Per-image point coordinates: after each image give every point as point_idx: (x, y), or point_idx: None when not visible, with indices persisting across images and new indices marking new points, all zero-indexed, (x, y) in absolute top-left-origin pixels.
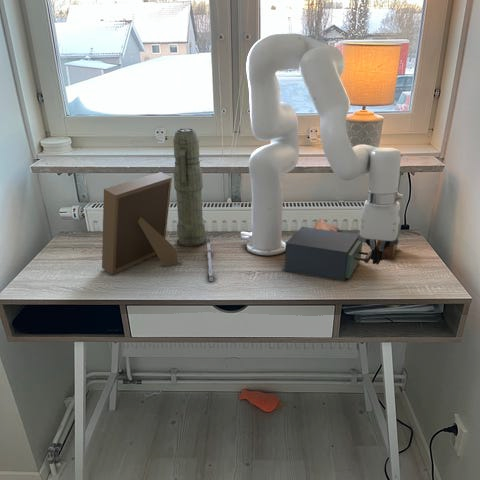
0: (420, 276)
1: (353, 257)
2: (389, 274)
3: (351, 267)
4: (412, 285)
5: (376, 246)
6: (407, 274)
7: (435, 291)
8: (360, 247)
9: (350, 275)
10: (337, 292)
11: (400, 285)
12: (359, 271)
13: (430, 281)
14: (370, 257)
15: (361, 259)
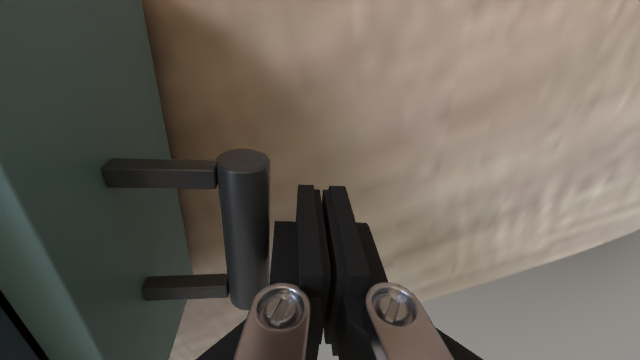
0: (569, 83)
1: (147, 346)
2: (391, 119)
3: (174, 304)
4: (489, 203)
5: (314, 344)
6: (500, 80)
7: (569, 220)
8: (61, 95)
9: (189, 266)
10: (195, 345)
11: (434, 221)
12: (204, 140)
13: (595, 132)
14: (267, 259)
15: (207, 293)
